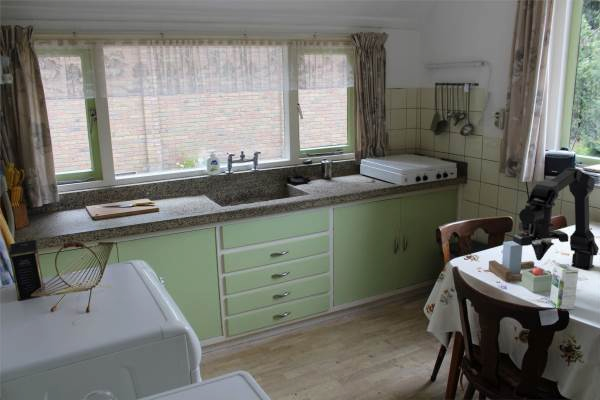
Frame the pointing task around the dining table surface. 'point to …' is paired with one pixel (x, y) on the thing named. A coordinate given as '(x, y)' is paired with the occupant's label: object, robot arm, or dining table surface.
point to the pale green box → (536, 281)
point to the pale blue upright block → (512, 256)
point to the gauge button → (537, 271)
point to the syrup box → (563, 286)
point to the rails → (523, 265)
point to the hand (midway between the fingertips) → (538, 260)
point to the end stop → (500, 271)
